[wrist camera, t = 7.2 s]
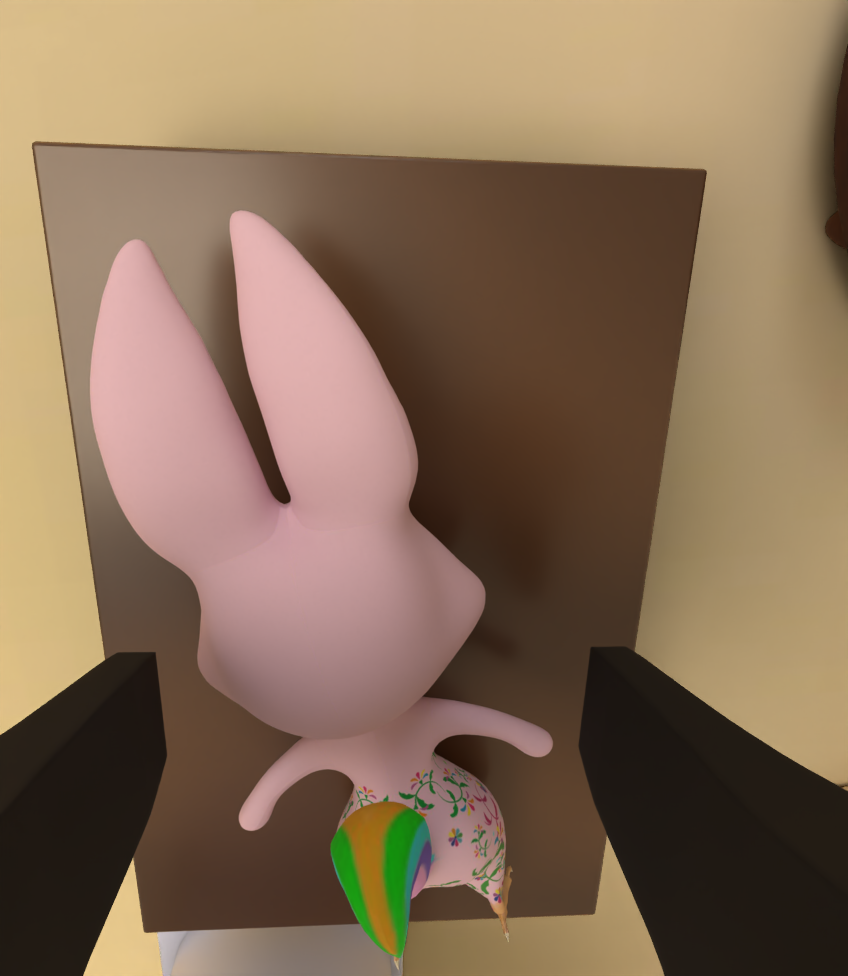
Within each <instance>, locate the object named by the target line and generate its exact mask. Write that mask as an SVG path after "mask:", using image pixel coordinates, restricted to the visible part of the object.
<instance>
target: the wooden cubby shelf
mask: <svg viewBox="0 0 848 976" xmlns="http://www.w3.org/2000/svg"><path fill="white" fill-rule="evenodd" d="M32 149H33V156H34V163H35V170H36V177H37V184H38V191H39V199H40V206H41V213H42V220H43V227H44V234H45V241H46V248H47V255H48V262H49V269H50V276H51V283H52V290H53V297H54V304H55V311H56V318H57V325H58V332H59V339H60V346H61V353H62V360H63V367H64V374H65V381H66V388H67V395H68V402H69V409H70V416H71V423H72V430H73V437H74V444H75V451H76V458H77V465H78V472H79V479H80V486H81V493H82V500H83V507H84V514H85V521H86V528H87V535H88V543H89V550H90V557H91V564H92V571H93V578H94V585H95V592H96V599H97V606H98V613H99V620H100V627H101V634H102V641H103V648H104V655H105V660H106V659H107V658H109V657H111V656H112V655H114V654H115V653H117V652H156V659H157V668H158V677H159V686H160V695H161V703H162V712H163V721H164V730H165V739H166V748H167V759H166V763H165V766H164V770H163V774H162V777H161V781H160V785H159V788H158V792H157V795H156V799H155V802H154V805H153V809H152V812H151V815H150V818H149V820H148V823H147V825H146V827H145V830H144V832H143V835H142V837H141V839H140V842H139V844H138V847H137V849H136V851H135V854H134V856H133V858H134V865H135V872H136V879H137V886H138V894H139V901H140V908H141V915H142V922H143V929H144V932H146V933H152V932H177V931H201V930H226V929H251V928H275V927H300V926H324V925H349V924H360V923H359V921H358V920H357V918H356V916H355V914H354V912H353V910H352V907H351V905H350V903H349V900H348V898H347V896H346V894H345V891H344V890H343V888H342V886H341V884H340V881H339V879H338V877H337V874H336V871H335V867H334V864H333V860H332V856H331V849H330V848H331V842H332V840H333V838H334V836H335V834H336V832H337V828H338V824H339V821H340V819H341V816H342V814H343V812H344V809H345V807H346V805H347V803H348V801H349V799H350V797H351V794H352V792H353V789H354V784H353V782H352V780H351V779H350V778H349V777H348V776H347V775H345V774H344V773H342V772H339V771H336V770H331V769H323V770H318V771H315V772H312V773H310V774H308V775H306V776H305V777H303V778H301V779H300V780H298V781H297V782H296V783H294V784H293V785H292V786H290V787H289V788H288V789H287V790H286V791H285V792H284V793H283V794H282V795H281V796H280V797H279V799H278V800H277V802H276V804H275V806H274V808H273V811H272V813H271V816H270V818H269V820H268V821H267V822H266V823H265V825H264V826H263V827H261V828H260V829H258V830H254V831H249V830H245V829H243V828H242V827H241V825H240V822H239V813H240V810H241V808H242V806H243V804H244V803H245V801H246V800H247V798H248V797H249V795H250V794H251V792H252V791H253V789H254V788H255V786H256V785H257V783H258V782H259V780H260V779H261V778H262V777H263V775H264V774H265V773H266V772H267V770H268V769H269V768H270V767H271V766H272V765H273V764H274V763H275V762H276V761H277V760H278V759H279V758H280V757H281V756H282V755H283V754H285V753H286V752H287V751H288V750H289V749H290V748H291V747H292V746H293V745H294V744H295V743H296V742H298V741H299V740H300V739H301V738H303V737H301V736H297V735H293V734H290V733H287V732H284V731H281V730H279V729H276V728H274V727H272V726H270V725H268V724H266V723H264V722H263V721H261V720H260V719H258V718H256V717H255V716H254V715H252V714H251V713H250V712H248V711H247V710H246V709H245V708H243V707H242V706H240V705H239V704H238V703H236V702H234V701H233V700H231V699H230V698H228V697H227V696H225V695H224V694H222V693H221V692H219V691H218V690H217V689H215V688H214V687H213V686H211V685H210V684H209V683H208V682H207V681H206V679H205V678H204V677H203V675H202V673H201V672H200V669H199V667H198V660H197V654H198V645H199V636H200V622H201V606H200V600H199V596H198V592H197V589H196V586H195V585H194V583H193V581H192V580H191V579H190V577H189V576H188V575H187V574H186V573H184V572H183V571H182V570H181V569H179V568H178V567H177V566H175V565H174V564H172V563H170V562H169V561H167V560H166V559H164V558H163V557H161V556H160V555H159V554H157V553H156V552H155V551H154V550H152V549H151V548H150V547H149V546H148V545H147V544H146V543H145V542H144V541H143V540H142V539H141V538H140V536H139V535H138V534H137V533H136V531H135V530H134V528H133V527H132V526H131V524H130V522H129V521H128V519H127V518H126V516H125V514H124V512H123V511H122V509H121V507H120V505H119V503H118V501H117V498H116V496H115V494H114V491H113V489H112V486H111V484H110V481H109V478H108V475H107V472H106V469H105V466H104V463H103V459H102V456H101V452H100V449H99V446H98V442H97V439H96V434H95V430H94V425H93V420H92V413H91V401H90V371H91V358H92V350H93V343H94V337H95V331H96V325H97V320H98V316H99V311H100V306H101V300H102V296H103V293H104V289H105V287H106V284H107V281H108V277H109V274H110V271H111V268H112V265H113V262H114V260H115V258H116V256H117V254H118V253H119V251H120V249H121V248H122V247H123V246H124V245H125V244H126V243H127V242H129V241H131V240H134V239H139V240H142V241H144V242H145V243H146V244H147V245H148V246H149V248H150V249H151V251H152V252H153V254H154V256H155V258H156V260H157V262H158V264H159V266H160V268H161V270H162V271H163V273H164V275H165V277H166V279H167V281H168V283H169V285H170V287H171V289H172V290H173V292H174V294H175V295H176V297H177V299H178V300H179V302H180V304H181V305H182V307H183V309H184V310H185V312H186V314H187V315H188V317H189V318H190V320H191V322H192V323H193V325H194V327H195V328H196V330H197V332H198V333H199V335H200V337H201V339H202V340H203V342H204V344H205V347H206V349H207V351H208V353H209V355H210V357H211V359H212V361H213V363H214V365H215V367H216V369H217V371H218V373H219V375H220V377H221V379H222V381H223V384H224V386H225V388H226V390H227V393H228V395H229V397H230V399H231V402H232V404H233V406H234V408H235V410H236V413H237V415H238V417H239V419H240V421H241V423H242V426H243V428H244V430H245V432H246V435H247V437H248V439H249V442H250V444H251V446H252V449H253V451H254V453H255V456H256V458H257V461H258V463H259V465H260V468H261V470H262V473H263V475H264V478H265V480H266V483H267V485H268V487H269V489H270V491H271V493H272V495H273V496H274V497H275V499H276V500H278V501H279V502H280V503H283V504H287V503H289V502H290V501H291V496H290V494H289V491H288V489H287V486H286V484H285V482H284V479H283V477H282V474H281V472H280V469H279V466H278V464H277V461H276V457H275V454H274V451H273V448H272V445H271V441H270V438H269V435H268V432H267V429H266V426H265V422H264V419H263V416H262V413H261V410H260V407H259V404H258V401H257V398H256V395H255V392H254V389H253V386H252V383H251V380H250V376H249V373H248V369H247V364H246V359H245V355H244V350H243V344H242V338H241V332H240V324H239V313H238V301H237V286H236V276H235V266H234V258H233V250H232V243H231V236H230V218H231V215H232V214H233V213H234V212H236V211H240V210H242V211H249V212H251V213H254V214H256V215H258V216H260V217H262V218H263V219H264V220H266V221H267V222H268V223H269V224H271V225H272V226H273V227H274V228H276V229H277V230H278V231H279V232H280V233H281V234H282V235H283V236H284V237H285V238H286V239H287V240H288V241H289V242H290V243H291V244H292V245H293V246H294V247H295V248H296V249H297V250H298V251H299V253H300V254H301V255H302V256H303V257H304V258H305V260H306V261H307V262H308V263H309V264H310V265H311V266H312V267H313V268H314V270H315V271H316V272H317V273H318V274H319V276H320V277H321V278H322V279H323V280H324V282H325V283H326V284H327V285H328V286H329V288H330V289H331V290H332V291H333V292H334V294H335V295H336V296H337V298H338V299H339V300H340V302H341V303H342V304H343V305H344V307H345V308H346V309H347V311H348V312H349V314H350V315H351V316H352V318H353V319H354V321H355V322H356V324H357V325H358V327H359V328H360V330H361V331H362V333H363V334H364V336H365V337H366V339H367V341H368V342H369V344H370V346H371V347H372V349H373V351H374V353H375V355H376V357H377V358H378V360H379V362H380V365H381V367H382V369H383V371H384V373H385V375H386V377H387V379H388V381H389V383H390V385H391V386H392V388H393V390H394V392H395V394H396V396H397V398H398V400H399V402H400V403H401V405H402V407H403V409H404V411H405V414H406V416H407V419H408V422H409V425H410V428H411V431H412V434H413V437H414V441H415V445H416V449H417V456H418V472H417V477H416V482H415V485H414V488H413V491H412V494H411V497H410V501H409V509H410V512H411V514H412V515H413V516H414V518H415V519H416V520H417V521H418V522H419V523H420V524H421V525H422V526H423V527H425V528H426V529H427V530H428V531H429V532H430V533H431V534H432V535H433V536H434V537H435V538H437V539H438V540H439V541H440V542H441V543H442V544H443V545H444V546H445V547H446V548H447V549H448V550H449V551H450V552H451V553H452V554H453V555H454V556H455V557H456V558H457V559H458V560H459V561H460V562H461V563H463V564H464V565H465V566H466V567H467V568H468V569H469V570H471V571H472V572H473V573H474V574H475V575H476V576H477V577H478V578H479V579H480V581H481V582H482V584H483V586H484V589H485V606H484V610H483V612H482V615H481V616H480V618H479V620H478V622H477V624H476V626H475V627H474V629H473V631H472V632H471V634H470V635H469V636H468V638H467V639H466V641H465V642H464V644H463V645H462V647H461V648H460V649H459V651H458V652H457V653H456V655H455V656H454V658H453V659H452V660H451V662H450V663H449V664H448V665H447V667H446V668H445V670H444V671H443V672H442V674H441V675H440V676H439V677H438V679H437V680H436V681H435V682H434V684H433V685H432V686H431V687H430V688H429V690H428V691H427V692H426V693H425V694H424V695H423V696H422V697H430V698H439V699H447V700H454V701H460V702H464V703H469V704H474V705H478V706H483V707H487V708H490V709H494V710H497V711H500V712H503V713H506V714H509V715H512V716H514V717H517V718H520V719H522V720H524V721H527V722H529V723H532V724H534V725H536V726H538V727H541V728H542V729H544V730H545V731H547V732H548V733H549V734H550V736H551V738H552V741H553V747H552V749H551V751H550V752H549V753H548V754H547V755H545V756H543V757H533V756H530V755H528V754H525V753H524V752H522V751H521V750H519V749H518V748H517V747H515V746H513V745H512V744H510V743H508V742H506V741H503V740H500V739H497V738H492V737H487V736H481V735H470V734H462V735H454V736H450V737H447V738H445V739H444V740H442V741H441V742H439V743H438V745H437V746H436V747H435V749H434V752H435V754H437V755H439V756H441V757H443V758H444V759H446V760H448V761H450V762H451V763H453V764H455V765H457V766H458V767H460V768H462V769H464V770H465V771H467V772H469V773H470V774H472V775H474V776H475V777H476V778H477V779H479V780H480V781H481V782H482V783H483V784H484V785H485V786H486V787H487V789H488V790H489V791H490V792H491V794H492V795H493V797H494V798H495V800H496V802H497V804H498V806H499V808H500V811H501V814H502V817H503V821H504V827H505V835H506V850H505V868H504V874H506V870H507V867H508V866H511V868H512V871H513V872H512V871H511V872H510V875H509V877H510V878H511V880H512V881H511V885H510V887H509V891H508V903H507V917H506V918H521V917H545V916H570V915H593V914H595V910H596V903H597V897H598V890H599V884H600V877H601V870H602V864H603V857H604V850H605V844H606V837H607V833H606V831H605V828H604V826H603V824H602V821H601V819H600V816H599V814H598V811H597V809H596V807H595V804H594V801H593V798H592V795H591V791H590V788H589V784H588V781H587V777H586V774H585V770H584V766H583V762H582V759H581V755H580V751H579V747H578V744H579V736H580V728H581V720H582V712H583V704H584V696H585V688H586V680H587V672H588V664H589V656H590V648H591V647H614V646H626V647H628V648H629V649H631V650H632V651H634V652H635V645H636V638H637V632H638V625H639V618H640V612H641V605H642V599H643V592H644V585H645V579H646V572H647V565H648V559H649V552H650V546H651V539H652V532H653V526H654V519H655V512H656V506H657V499H658V493H659V486H660V479H661V473H662V466H663V459H664V453H665V446H666V439H667V433H668V426H669V420H670V413H671V406H672V400H673V393H674V386H675V380H676V373H677V367H678V360H679V353H680V347H681V340H682V333H683V327H684V320H685V314H686V307H687V300H688V294H689V287H690V280H691V274H692V267H693V261H694V254H695V247H696V241H697V234H698V227H699V221H700V214H701V207H702V201H703V194H704V188H705V181H706V174H707V173H706V170H704V169H689V168H665V167H641V166H617V165H593V164H568V163H544V162H520V161H496V160H472V159H448V158H424V157H399V156H375V155H351V154H327V153H303V152H279V151H255V150H230V149H206V148H182V147H158V146H134V145H110V144H86V143H61V142H37V141H36V142H34V143H32ZM496 918H499V916H498V914H497V913H495V912H494V911H493V909H492V907H491V904H490V902H489V900H488V898H486V897H484V896H483V895H481V894H480V893H478V892H477V891H475V890H474V889H472V888H471V887H469V886H467V885H466V884H463V885H459V886H454V887H432V888H425V889H422V890H421V891H420V892H419V893H418V894H417V896H416V897H414V898H412V899H411V904H410V914H409V922H422V921H447V920H472V919H496Z"/></svg>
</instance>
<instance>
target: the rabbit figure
mask: <svg viewBox="0 0 848 976" xmlns="http://www.w3.org/2000/svg"><path fill="white" fill-rule="evenodd" d="M230 236H231V243H232V250H233V258H234V266H235V276H236V286H237V301H238V313H239V324H240V332H241V338H242V344H243V350H244V355H245V359H246V364H247V369H248V373H249V376H250V380H251V383H252V386H253V389H254V392H255V395H256V398H257V401H258V404H259V407H260V410H261V413H262V416H263V419H264V422H265V426H266V429H267V432H268V435H269V438H270V441H271V445H272V448H273V451H274V454H275V457H276V461H277V464H278V466H279V469H280V472H281V474H282V477H283V479H284V482H285V484H286V486H287V489H288V491H289V494H290V496H291V501H290V502H289V503H287V504H283V503H280V502H279V501H278V500H276V499H275V497H274V496H273V495H272V493H271V491H270V489H269V487H268V485H267V483H266V480H265V478H264V475H263V473H262V470H261V468H260V465H259V463H258V461H257V458H256V456H255V453H254V451H253V449H252V446H251V444H250V442H249V439H248V437H247V435H246V432H245V430H244V428H243V426H242V423H241V421H240V419H239V417H238V415H237V413H236V410H235V408H234V406H233V404H232V402H231V399H230V397H229V395H228V393H227V390H226V388H225V386H224V384H223V381H222V379H221V377H220V375H219V373H218V371H217V369H216V367H215V365H214V363H213V361H212V359H211V357H210V355H209V353H208V351H207V349H206V347H205V344H204V342H203V340H202V339H201V337H200V335H199V333H198V332H197V330H196V328H195V327H194V325H193V323H192V322H191V320H190V318H189V317H188V315H187V314H186V312H185V310H184V309H183V307H182V305H181V304H180V302H179V300H178V299H177V297H176V295H175V294H174V292H173V290H172V289H171V287H170V285H169V283H168V281H167V279H166V277H165V275H164V273H163V271H162V270H161V268H160V266H159V264H158V262H157V260H156V258H155V256H154V254H153V252H152V251H151V249H150V248H149V246H148V245H147V244H146V243H145V242H144V241H142V240H139V239H134V240H131V241H129V242H127V243H126V244H125V245H124V246H123V247H122V248H121V249H120V251H119V253H118V254H117V256H116V258H115V260H114V262H113V265H112V268H111V271H110V274H109V277H108V281H107V284H106V287H105V289H104V293H103V296H102V300H101V306H100V311H99V316H98V320H97V325H96V331H95V337H94V343H93V350H92V358H91V371H90V401H91V413H92V420H93V425H94V430H95V434H96V439H97V442H98V446H99V449H100V452H101V456H102V459H103V463H104V466H105V469H106V472H107V475H108V478H109V481H110V484H111V486H112V489H113V491H114V494H115V496H116V498H117V501H118V503H119V505H120V507H121V509H122V511H123V512H124V514H125V516H126V518H127V519H128V521H129V522H130V524H131V526H132V527H133V528H134V530H135V531H136V533H137V534H138V535H139V536H140V538H141V539H142V540H143V541H144V542H145V543H146V544H147V545H148V546H149V547H150V548H151V549H152V550H154V551H155V552H156V553H157V554H159V555H160V556H161V557H163V558H164V559H166V560H167V561H169V562H170V563H172V564H174V565H175V566H177V567H178V568H179V569H181V570H182V571H183V572H184V573H186V574H187V575H188V576H189V577H190V579H191V580H192V581H193V583H194V585H195V586H196V589H197V592H198V596H199V600H200V606H201V622H200V636H199V645H198V654H197V660H198V667H199V669H200V672H201V673H202V675H203V677H204V678H205V679H206V681H207V682H208V683H209V684H210V685H211V686H213V687H214V688H215V689H217V690H218V691H219V692H221V693H222V694H224V695H225V696H227V697H228V698H230V699H231V700H233V701H234V702H236V703H238V704H239V705H240V706H242V707H243V708H245V709H246V710H247V711H248V712H250V713H251V714H252V715H254V716H255V717H256V718H258V719H260V720H261V721H263V722H264V723H266V724H268V725H270V726H272V727H274V728H276V729H279V730H281V731H284V732H287V733H290V734H293V735H297V736H301V737H303V738H301V739H300V740H299V741H298V742H296V743H295V744H294V745H293V746H292V747H291V748H290V749H289V750H288V751H287V752H286V753H285V754H283V755H282V756H281V757H280V758H279V759H278V760H277V761H276V762H275V763H274V764H273V765H272V766H271V767H270V768H269V769H268V770H267V772H266V773H265V774H264V775H263V777H262V778H261V779H260V780H259V782H258V783H257V785H256V786H255V788H254V789H253V791H252V792H251V794H250V795H249V797H248V798H247V800H246V801H245V803H244V804H243V806H242V808H241V810H240V813H239V822H240V825H241V827H242V828H243V829H245V830H249V831H254V830H258V829H260V828H261V827H263V826H264V825H265V823H266V822H267V821H268V820H269V818H270V816H271V813H272V811H273V808H274V806H275V804H276V802H277V800H278V799H279V797H280V796H281V795H282V794H283V793H284V792H285V791H286V790H287V789H288V788H289V787H290V786H292V785H293V784H294V783H296V782H297V781H298V780H300V779H301V778H303V777H305V776H306V775H308V774H310V773H312V772H315V771H318V770H323V769H331V770H336V771H339V772H342V773H344V774H345V775H347V776H348V777H349V778H350V779H351V780H352V782H353V784H354V789H353V792H352V794H351V797H350V799H349V801H348V803H347V805H346V807H345V809H344V812H343V814H342V816H341V819H340V821H339V824H338V828H337V832H336V834H335V836H334V838H333V840H332V842H331V848H330V849H331V856H332V860H333V864H334V867H335V871H336V874H337V877H338V879H339V881H340V884H341V886H342V888H343V890H344V891H345V894H346V896H347V898H348V900H349V903H350V905H351V907H352V910H353V912H354V914H355V916H356V918H357V920H358V921H359V923H360V925H361V926H362V928H363V930H364V931H365V932H366V934H367V935H368V936H369V937H370V938H371V940H372V941H373V942H374V943H375V944H376V945H377V946H378V947H379V948H380V949H382V950H383V951H384V952H386V953H388V954H390V955H392V956H394V962H395V965H396V967H397V969H398V970H399V958H401V956H402V953H403V950H404V947H405V944H406V938H407V930H408V923H409V914H410V904H411V899H412V898H414V897H416V896H417V894H418V893H419V892H420V891H421V890H422V889H425V888H432V887H454V886H459V885H463V884H466V885H467V886H469V887H471V888H472V889H474V890H475V891H477V892H478V893H480V894H481V895H483V896H484V897H486V898H488V900H489V902H490V904H491V907H492V909H493V911H494V912H495V913H497V914H498V916H499V918H500V921H501V923H502V928H503V933H504V935H505V936H506V938H507V941H508V943H509V931H508V928H507V925H506V917H507V903H508V891H509V887H510V885H511V881H512V880H511V878H510V877H509V875H510V872H511V871H512V868H511V866H508V867H507V870H506V874H504V868H505V850H506V835H505V827H504V821H503V817H502V814H501V811H500V808H499V806H498V804H497V802H496V800H495V798H494V797H493V795H492V794H491V792H490V791H489V790H488V789H487V787H486V786H485V785H484V784H483V783H482V782H481V781H480V780H479V779H477V778H476V777H475V776H474V775H472V774H470V773H469V772H467V771H465V770H464V769H462V768H460V767H458V766H457V765H455V764H453V763H451V762H450V761H448V760H446V759H444V758H443V757H441V756H439V755H437V754H435V752H434V749H435V747H436V746H437V745H438V743H439V742H441V741H442V740H444V739H445V738H447V737H450V736H454V735H462V734H470V735H481V736H487V737H492V738H497V739H500V740H503V741H506V742H508V743H510V744H512V745H513V746H515V747H517V748H518V749H519V750H521V751H522V752H524V753H525V754H528V755H530V756H533V757H543V756H545V755H547V754H548V753H549V752H550V751H551V749H552V747H553V741H552V738H551V736H550V734H549V733H548V732H547V731H545V730H544V729H542V728H541V727H538V726H536V725H534V724H532V723H529V722H527V721H524V720H522V719H520V718H517V717H514V716H512V715H509V714H506V713H503V712H500V711H497V710H494V709H490V708H487V707H483V706H478V705H474V704H469V703H464V702H460V701H454V700H447V699H439V698H430V697H422V696H423V695H424V694H425V693H426V692H427V691H428V690H429V688H430V687H431V686H432V685H433V684H434V682H435V681H436V680H437V679H438V677H439V676H440V675H441V674H442V672H443V671H444V670H445V668H446V667H447V665H448V664H449V663H450V662H451V660H452V659H453V658H454V656H455V655H456V653H457V652H458V651H459V649H460V648H461V647H462V645H463V644H464V642H465V641H466V639H467V638H468V636H469V635H470V634H471V632H472V631H473V629H474V627H475V626H476V624H477V622H478V620H479V618H480V616H481V615H482V612H483V610H484V606H485V589H484V586H483V584H482V582H481V581H480V579H479V578H478V577H477V576H476V575H475V574H474V573H473V572H472V571H471V570H469V569H468V568H467V567H466V566H465V565H464V564H463V563H461V562H460V561H459V560H458V559H457V558H456V557H455V556H454V555H453V554H452V553H451V552H450V551H449V550H448V549H447V548H446V547H445V546H444V545H443V544H442V543H441V542H440V541H439V540H438V539H437V538H435V537H434V536H433V535H432V534H431V533H430V532H429V531H428V530H427V529H426V528H425V527H423V526H422V525H421V524H420V523H419V522H418V521H417V520H416V519H415V518H414V516H413V515H412V514H411V512H410V509H409V501H410V497H411V494H412V491H413V488H414V485H415V482H416V477H417V472H418V456H417V449H416V445H415V441H414V437H413V434H412V431H411V428H410V425H409V422H408V419H407V416H406V414H405V411H404V409H403V407H402V405H401V403H400V402H399V400H398V398H397V396H396V394H395V392H394V390H393V388H392V386H391V385H390V383H389V381H388V379H387V377H386V375H385V373H384V371H383V369H382V367H381V365H380V362H379V360H378V358H377V357H376V355H375V353H374V351H373V349H372V347H371V346H370V344H369V342H368V341H367V339H366V337H365V336H364V334H363V333H362V331H361V330H360V328H359V327H358V325H357V324H356V322H355V321H354V319H353V318H352V316H351V315H350V314H349V312H348V311H347V309H346V308H345V307H344V305H343V304H342V303H341V302H340V300H339V299H338V298H337V296H336V295H335V294H334V292H333V291H332V290H331V289H330V288H329V286H328V285H327V284H326V283H325V282H324V280H323V279H322V278H321V277H320V276H319V274H318V273H317V272H316V271H315V270H314V268H313V267H312V266H311V265H310V264H309V263H308V262H307V261H306V260H305V258H304V257H303V256H302V255H301V254H300V253H299V251H298V250H297V249H296V248H295V247H294V246H293V245H292V244H291V243H290V242H289V241H288V240H287V239H286V238H285V237H284V236H283V235H282V234H281V233H280V232H279V231H278V230H277V229H276V228H274V227H273V226H272V225H271V224H269V223H268V222H267V221H266V220H264V219H263V218H262V217H260V216H258V215H256V214H254V213H251V212H249V211H242V210H240V211H236V212H234V213H233V214H232V215H231V218H230ZM512 872H513V871H512Z"/></svg>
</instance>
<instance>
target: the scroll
mask: <svg viewBox="0 0 848 976" xmlns="http://www.w3.org/2000/svg"><path fill="white" fill-rule="evenodd" d="M834 175H835V185H836V195H837V205H838V211H837V212H836V213H835V214H833V215H832V216H831V217H830V218H829V220H828V221H827V223H826V226H825V229H826V233H827V235H828V237H829V238H830V239H831V240H832V241H833V242H835V243H836V244H837V245H839V246H841V247H843V248H846V249H847V251H848V46H847V50H846V54H845V58H844V62H843V68H842V74H841V80H840V86H839V92H838V98H837V109H836V122H835V134H834Z"/></svg>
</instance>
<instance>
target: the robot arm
mask: <svg viewBox="0 0 848 976" xmlns="http://www.w3.org/2000/svg"><path fill="white" fill-rule="evenodd" d="M578 747H579V751H580V755H581V759H582V762H583V766H584V770H585V774H586V777H587V781H588V784H589V788H590V791H591V795H592V798H593V801H594V804H595V807H596V809H597V811H598V814H599V816H600V819H601V821H602V824H603V826H604V828H605V831H606V833H607V836H608V838H609V840H610V843H611V845H612V848H613V850H614V852H615V855H616V857H617V859H618V862H619V864H620V866H621V869H622V871H623V873H624V876H625V878H626V880H627V883H628V885H629V887H630V890H631V892H632V894H633V897H634V899H635V901H636V904H637V906H638V908H639V911H640V913H641V915H642V918H643V920H644V922H645V925H646V927H647V929H648V932H649V934H650V937H651V939H652V942H653V945H654V947H655V950H656V953H657V955H658V958H659V961H660V963H661V966H662V969H663V972H664V975H665V976H848V791H847V790H845V789H843V788H841V787H839V786H838V785H836V784H834V783H832V782H830V781H828V780H827V779H825V778H823V777H821V776H819V775H818V774H816V773H814V772H812V771H810V770H808V769H807V768H805V767H803V766H801V765H800V764H798V763H796V762H795V761H793V760H791V759H790V758H788V757H786V756H785V755H783V754H781V753H780V752H778V751H777V750H775V749H773V748H772V747H770V746H769V745H767V744H766V743H764V742H762V741H761V740H759V739H758V738H756V737H755V736H753V735H751V734H750V733H748V732H747V731H745V730H744V729H742V728H741V727H739V726H738V725H736V724H735V723H733V722H732V721H730V720H729V719H727V718H726V717H725V716H723V715H722V714H720V713H719V712H717V711H716V710H714V709H713V708H712V707H710V706H709V705H707V704H706V703H705V702H703V701H702V700H700V699H699V698H698V697H696V696H695V695H694V694H692V693H691V692H689V691H688V690H687V689H685V688H684V687H683V686H681V685H680V684H678V683H677V682H676V681H674V680H673V679H672V678H670V677H669V676H668V675H666V674H665V673H664V672H662V671H661V670H659V669H658V668H657V667H655V666H654V665H653V664H651V663H650V662H648V661H647V660H646V659H644V658H643V657H641V656H640V655H638V654H637V653H636V652H634V651H632V650H631V649H629V648H628V647H626V646H614V647H591V648H590V656H589V664H588V672H587V680H586V688H585V696H584V704H583V712H582V720H581V728H580V736H579V744H578ZM166 759H167V748H166V739H165V730H164V721H163V712H162V703H161V695H160V686H159V677H158V668H157V659H156V652H117V653H115V654H114V655H112V656H111V657H109V658H107V659H106V660H105V661H103V662H102V663H100V664H99V665H97V666H96V667H95V668H93V669H92V670H91V671H89V672H88V673H86V674H85V675H84V676H82V677H81V678H80V679H78V680H77V681H76V682H74V683H73V684H71V685H70V686H69V687H67V688H66V689H65V690H63V691H62V692H61V693H59V694H58V695H57V696H55V697H54V698H52V699H51V700H50V701H48V702H47V703H45V704H44V705H43V706H41V707H40V708H39V709H37V710H36V711H34V712H33V713H32V714H30V715H29V716H27V717H26V718H25V719H23V720H22V721H21V722H19V723H18V724H16V725H15V726H13V727H12V728H10V729H9V730H7V731H6V732H4V733H3V734H1V735H0V976H83V974H84V972H85V969H86V967H87V964H88V961H89V959H90V956H91V954H92V952H93V949H94V947H95V945H96V942H97V940H98V938H99V935H100V933H101V931H102V928H103V926H104V924H105V921H106V919H107V917H108V914H109V912H110V910H111V907H112V905H113V903H114V900H115V898H116V896H117V893H118V891H119V889H120V886H121V884H122V882H123V880H124V877H125V875H126V873H127V870H128V868H129V866H130V863H131V861H132V858H133V856H134V854H135V851H136V849H137V847H138V844H139V842H140V839H141V837H142V835H143V832H144V830H145V827H146V825H147V823H148V820H149V818H150V815H151V812H152V809H153V805H154V802H155V799H156V795H157V792H158V788H159V785H160V781H161V777H162V774H163V770H164V766H165V763H166ZM157 936H158V943H159V951H160V958H161V966H162V973H163V976H402V975H403V953H402V956H401V958H399V970H398V969H397V967H396V965H395V962H394V956H392V955H390V954H388V953H386V952H384V951H383V950H382V949H380V948H379V947H378V946H377V945H376V944H375V943H374V942H373V941H372V940H371V938H370V937H369V936H368V935H367V934H366V932H365V931H364V930H363V928H362V926H361V925H360V924H349V925H324V926H300V927H275V928H251V929H226V930H201V931H177V932H157Z"/></svg>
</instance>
